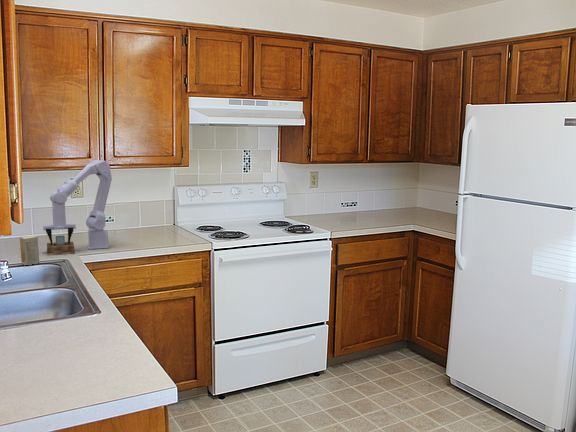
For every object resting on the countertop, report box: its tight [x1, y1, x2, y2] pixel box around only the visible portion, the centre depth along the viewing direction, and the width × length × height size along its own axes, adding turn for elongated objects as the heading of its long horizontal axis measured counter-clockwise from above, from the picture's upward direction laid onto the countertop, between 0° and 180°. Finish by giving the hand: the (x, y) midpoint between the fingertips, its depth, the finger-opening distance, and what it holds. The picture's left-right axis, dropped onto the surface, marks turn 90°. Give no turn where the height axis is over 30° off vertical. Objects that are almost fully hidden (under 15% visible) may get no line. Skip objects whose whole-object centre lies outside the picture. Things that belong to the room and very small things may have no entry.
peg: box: [55, 235, 66, 246], centre depth 276 cm, size 4×4×7 cm
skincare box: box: [19, 235, 40, 266], centre depth 250 cm, size 6×4×12 cm
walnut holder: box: [46, 241, 76, 256], centre depth 276 cm, size 12×12×4 cm
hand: (60, 244), depth 276 cm, fingers open, 7 cm apart
